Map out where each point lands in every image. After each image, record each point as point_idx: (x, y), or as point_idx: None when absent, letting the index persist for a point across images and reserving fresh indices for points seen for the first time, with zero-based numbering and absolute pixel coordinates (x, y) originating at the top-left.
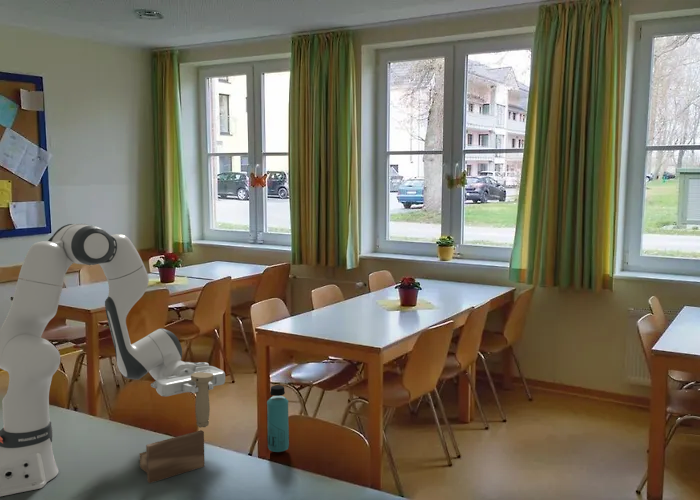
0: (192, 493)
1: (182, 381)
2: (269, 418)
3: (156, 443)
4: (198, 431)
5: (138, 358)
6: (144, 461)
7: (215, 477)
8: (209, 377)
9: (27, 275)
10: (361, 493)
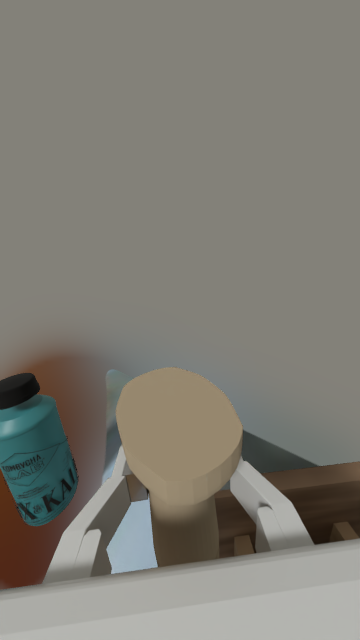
0: (249, 435)
1: (324, 548)
2: (58, 438)
3: (345, 471)
4: (223, 491)
5: None
6: None
7: None
8: (161, 370)
9: None
10: (116, 371)
